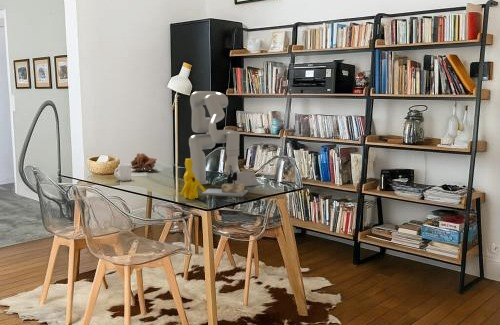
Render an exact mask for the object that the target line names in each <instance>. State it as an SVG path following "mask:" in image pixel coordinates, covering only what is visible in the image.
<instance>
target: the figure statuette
mask: <svg viewBox="0 0 500 325" xmlns="http://www.w3.org/2000/svg"><path fill="white" fill-rule="evenodd" d="M192 166H193V162H192V159H191V158H185V161H184V167H185V172H184V175H183V182H184V185H183V188H182V190H181V192H180V194H179V196H182V195H183V197H184V198H186V199H187V200H195V198H196V199H198V198H199V191H198V188H199V189H201V191H202V192H205V191H206V190H207V189H206V188H205V187H204V185H201V184H200V182H199V181H198V179H195V174H194V173H193V172H192Z"/></svg>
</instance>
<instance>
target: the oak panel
mask: <svg viewBox="0 0 500 325" xmlns="http://www.w3.org/2000/svg"><path fill="white" fill-rule="evenodd" d="M221 189H222V192H227V193H242V192H244V190H245V186H244V184H228V183H223V184H222V185H221Z"/></svg>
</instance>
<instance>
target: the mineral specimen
mask: <svg viewBox="0 0 500 325" xmlns="http://www.w3.org/2000/svg"><path fill="white" fill-rule="evenodd" d="M156 161H157V158H154V157H149V156H148V155H146V154H145V153H143V152H141V153H139V152H138V153H137V154H136V156H135V157H134V159H132V160H131V161H130V164H131V170H134V171H137V172H141V171H142V170H143V169H144V168H145V169H146V171H147V172H150V171H149V170H151V171H153V169H154V168H155V166H156V164H157V162H156Z"/></svg>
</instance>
